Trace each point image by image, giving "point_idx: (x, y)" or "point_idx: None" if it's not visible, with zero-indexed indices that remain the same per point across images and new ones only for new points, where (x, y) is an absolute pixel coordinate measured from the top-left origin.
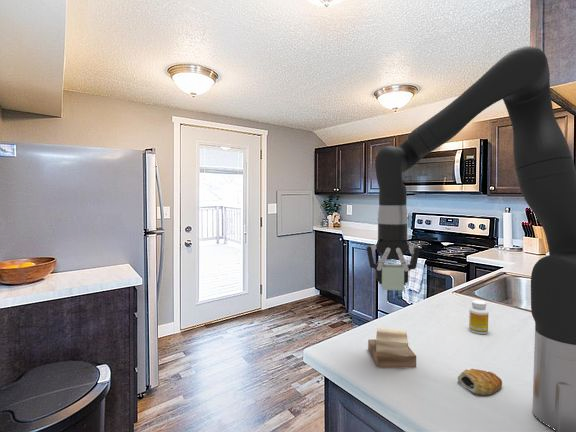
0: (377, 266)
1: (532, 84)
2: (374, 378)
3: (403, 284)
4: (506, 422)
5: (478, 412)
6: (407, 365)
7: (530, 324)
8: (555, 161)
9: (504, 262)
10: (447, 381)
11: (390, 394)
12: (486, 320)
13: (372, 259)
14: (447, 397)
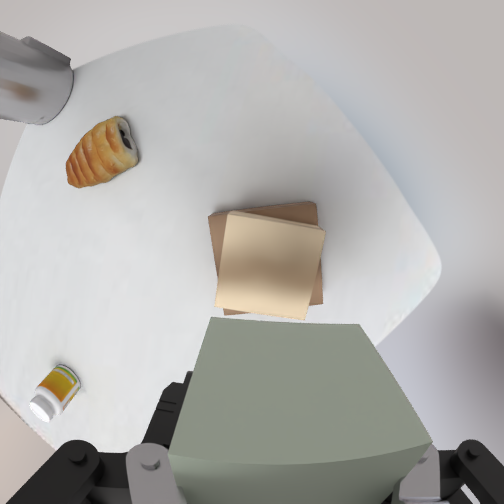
0: (438, 463)
1: None
2: (325, 153)
3: (207, 340)
4: (116, 59)
5: (145, 70)
6: (234, 210)
7: (14, 383)
8: None
9: None
10: (159, 159)
11: (298, 95)
12: (44, 379)
13: (495, 489)
14: (181, 100)
